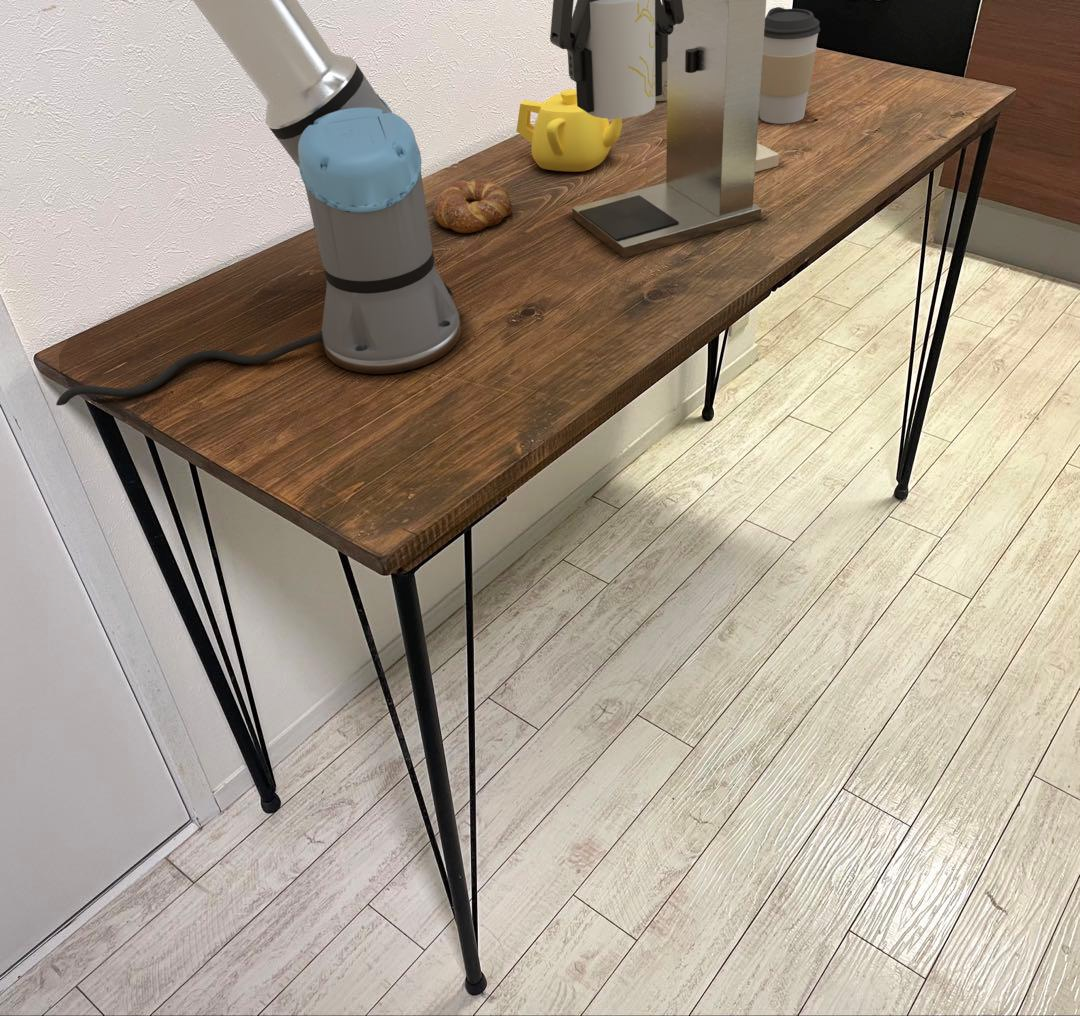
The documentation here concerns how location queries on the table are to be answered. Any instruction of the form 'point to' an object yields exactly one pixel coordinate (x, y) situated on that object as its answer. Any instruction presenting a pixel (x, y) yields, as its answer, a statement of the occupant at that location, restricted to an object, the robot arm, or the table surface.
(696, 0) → the coffee machine
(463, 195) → the pretzel
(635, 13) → the cup
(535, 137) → the teapot
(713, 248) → the table surface
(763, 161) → the cream triangular wedge
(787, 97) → the coffee cup
